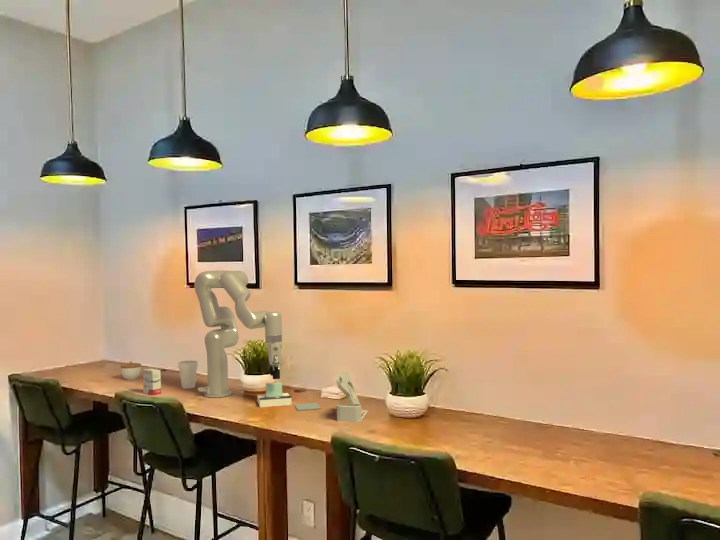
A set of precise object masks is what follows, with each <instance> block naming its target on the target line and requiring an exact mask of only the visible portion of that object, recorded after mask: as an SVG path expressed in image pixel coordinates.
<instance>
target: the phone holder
mask: <svg viewBox="0 0 720 540" xmlns="http://www.w3.org/2000/svg"><path fill="white" fill-rule="evenodd" d="M335 383H336V385H337V388H338V390H339V391H341V392H342V394H344V395H345V397H346V399H347V402H348V403H337V404H336V422H338V421H347V422H346V423H357V422H358V423H362V421H363V420H362V419H364V418H365V417H366V416H367V414H368V413H369V410H368V409H363V408H362V405H361V403H360V400H359V398H358V395H357V392H356V390H355V386H354V384H353V381H352V378H351V375H350V373H349V371H348V370H344V371H342V372H341V373H339V374H338V375H337V376H336V377H335ZM363 412H365V413H364V414H363V416H362V417H361V414H362V413H363ZM365 415H366V416H365Z"/></svg>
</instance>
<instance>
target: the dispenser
mask: <svg viewBox="0 0 720 540" xmlns="http://www.w3.org/2000/svg"><path fill="white" fill-rule="evenodd" d="M257 404H258V406H259V408H266V407H267V408H268V407H278V406H279V407H281V406H283V407H284V406H292V395H290V394H289V393H288V392H285V393H284V392H282V396H279V397H266V394H257Z"/></svg>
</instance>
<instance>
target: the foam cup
mask: <svg viewBox="0 0 720 540" xmlns="http://www.w3.org/2000/svg"><path fill="white" fill-rule="evenodd" d="M198 366H199V365H198V360H193V359H192V360H191V359H190V360H182V361H178V371H179V375H180V376H179V377H180V383H181V388H182V389H193V388H195V387H196V379H197V372H198V371H197V370H198Z"/></svg>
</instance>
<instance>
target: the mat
mask: <svg viewBox="0 0 720 540" xmlns="http://www.w3.org/2000/svg"><path fill="white" fill-rule="evenodd" d="M293 406H294V408H295V409H296V410H297V412H302V410H303V411H312V410H311V409H316V410H322V408H321V407H320V405H319V404H318V403H317V402H308V403H307V402H306V403H295V404H293Z"/></svg>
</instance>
